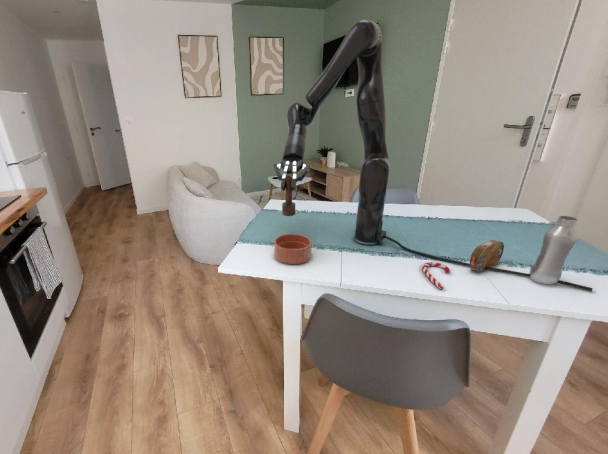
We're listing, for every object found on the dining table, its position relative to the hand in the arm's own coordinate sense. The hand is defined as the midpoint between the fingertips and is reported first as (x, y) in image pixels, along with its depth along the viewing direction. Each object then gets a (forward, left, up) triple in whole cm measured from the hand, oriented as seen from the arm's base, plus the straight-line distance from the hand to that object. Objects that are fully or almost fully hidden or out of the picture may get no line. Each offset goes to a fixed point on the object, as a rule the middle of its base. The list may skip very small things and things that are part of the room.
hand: (287, 189), depth 103 cm
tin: (-64, -3, -24) cm, 68 cm away
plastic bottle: (-77, +2, -24) cm, 81 cm away
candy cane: (-49, +7, -24) cm, 55 cm away
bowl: (-3, +5, -24) cm, 24 cm away
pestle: (0, -2, -10) cm, 10 cm away
